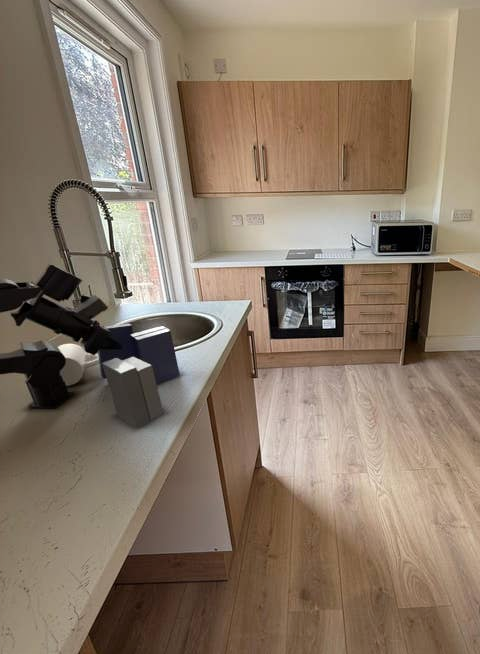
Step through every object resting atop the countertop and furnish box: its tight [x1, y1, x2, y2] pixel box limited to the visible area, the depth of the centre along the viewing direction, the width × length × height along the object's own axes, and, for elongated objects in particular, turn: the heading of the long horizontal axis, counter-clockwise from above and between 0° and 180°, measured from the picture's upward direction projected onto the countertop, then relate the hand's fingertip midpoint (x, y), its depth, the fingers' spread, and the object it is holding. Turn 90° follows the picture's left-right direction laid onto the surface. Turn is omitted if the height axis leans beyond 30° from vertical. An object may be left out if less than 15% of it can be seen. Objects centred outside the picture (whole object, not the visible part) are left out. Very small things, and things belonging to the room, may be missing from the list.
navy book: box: [97, 323, 136, 380], centre depth 90 cm, size 8×2×13 cm, turn 133°
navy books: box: [130, 325, 181, 385], centre depth 89 cm, size 8×5×13 cm, turn 135°
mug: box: [57, 343, 100, 387], centre depth 92 cm, size 12×10×8 cm
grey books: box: [102, 357, 164, 429], centre depth 74 cm, size 8×6×13 cm
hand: (120, 346), depth 90 cm, fingers closed on navy book, 2 cm apart
